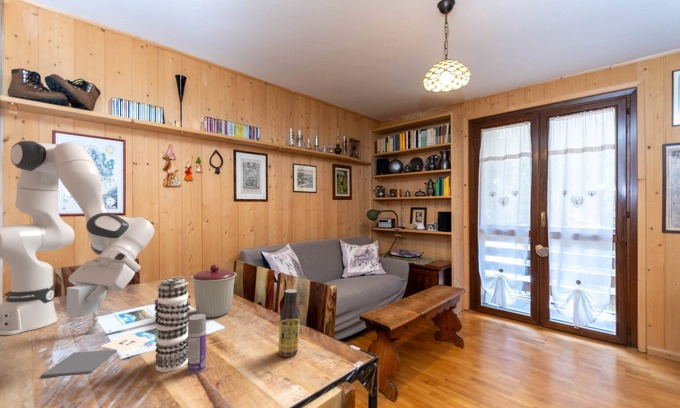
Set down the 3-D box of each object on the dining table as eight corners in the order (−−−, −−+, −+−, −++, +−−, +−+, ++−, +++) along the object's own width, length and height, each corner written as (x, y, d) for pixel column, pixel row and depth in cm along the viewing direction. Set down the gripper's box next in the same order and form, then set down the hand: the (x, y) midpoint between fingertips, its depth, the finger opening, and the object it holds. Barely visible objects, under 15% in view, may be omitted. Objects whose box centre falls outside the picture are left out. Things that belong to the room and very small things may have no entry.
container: (201, 362, 87) (201, 312, 87) (208, 368, 84) (209, 316, 84) (184, 369, 83) (185, 317, 83) (192, 375, 80) (192, 321, 80)
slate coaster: (41, 377, 79) (41, 374, 79) (73, 355, 91) (73, 352, 91) (91, 373, 81) (91, 370, 81) (116, 352, 93) (116, 349, 93)
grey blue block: (66, 315, 84) (66, 287, 84) (86, 309, 89) (86, 283, 89) (78, 317, 83) (78, 289, 83) (97, 311, 87) (97, 284, 87)
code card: (100, 346, 96) (100, 346, 96) (127, 335, 105) (127, 334, 105) (126, 352, 92) (126, 351, 92) (152, 339, 101) (152, 339, 101)
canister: (180, 319, 119) (181, 268, 119) (208, 304, 136) (208, 259, 136) (221, 323, 115) (221, 270, 115) (244, 307, 133) (244, 261, 133)
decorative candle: (157, 358, 89) (158, 276, 89) (191, 353, 92) (192, 274, 92) (150, 375, 80) (150, 284, 80) (187, 369, 83) (188, 281, 83)
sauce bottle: (279, 359, 89) (279, 294, 89) (277, 349, 95) (278, 288, 95) (300, 356, 91) (301, 292, 91) (298, 347, 97) (298, 287, 97)
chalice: (92, 337, 102) (92, 286, 102) (77, 335, 104) (77, 285, 104) (112, 328, 110) (112, 281, 110) (97, 327, 111) (98, 280, 111)
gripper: (85, 252, 95) (47, 291, 86) (131, 256, 89) (96, 298, 80) (99, 263, 100) (65, 301, 90) (144, 268, 94) (112, 308, 84)
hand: (80, 300), depth 85 cm, fingers closed on grey blue block, 5 cm apart
